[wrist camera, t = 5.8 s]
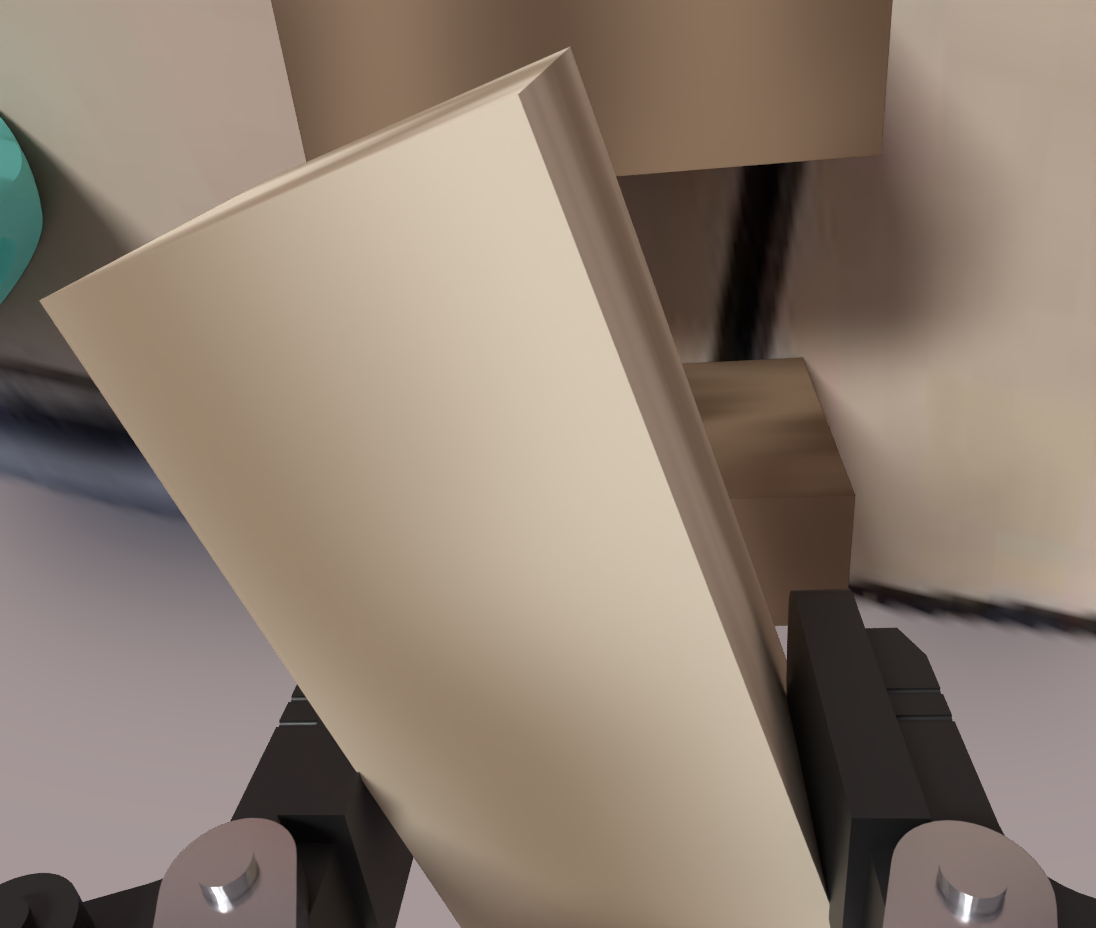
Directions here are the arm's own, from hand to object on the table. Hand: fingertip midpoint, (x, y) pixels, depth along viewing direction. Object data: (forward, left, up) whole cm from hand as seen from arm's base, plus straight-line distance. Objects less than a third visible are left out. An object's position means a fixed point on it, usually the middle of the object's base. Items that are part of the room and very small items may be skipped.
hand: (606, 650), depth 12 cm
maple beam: (0, 0, -2) cm, 2 cm away
